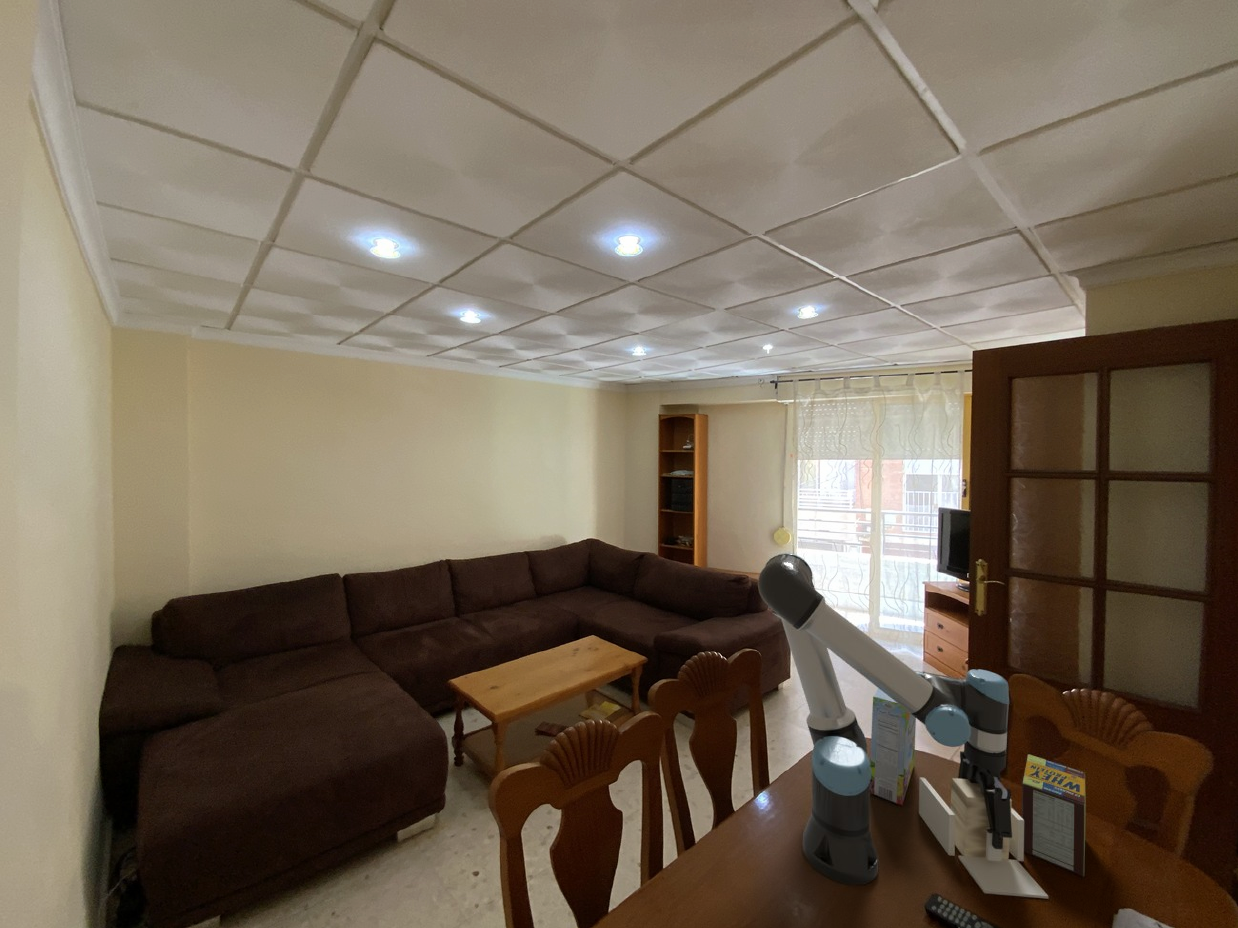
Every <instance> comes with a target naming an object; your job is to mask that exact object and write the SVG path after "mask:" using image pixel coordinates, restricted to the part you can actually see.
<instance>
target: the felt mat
mask: <svg viewBox="0 0 1238 928" xmlns="http://www.w3.org/2000/svg"><path fill="white" fill-rule="evenodd" d="M957 859H959V861H960V862H961V864H962V865H963V867H964V868H965V870H967V872H968V873H969V875H970V876H971V877H972V878H973V880H974V881H975V883H976V884H977V885H978V886H979V888H980V889H981V891H982V892H983V894H989V895H990V894H991V895H1001V896H1014V897H1023V898H1035V899H1036V898H1039V899H1047V900H1049V895H1048V894H1047V892H1045V890H1044V889H1043V888H1042V887H1041V886H1040V885H1039V884H1038V883H1037V881H1036V880H1035V879H1034V878H1033V877H1032V875H1030V873H1029V872H1028V871H1027V870H1026V869H1025V867H1024V866H1022V864H1021V863H1020V861H1017V860H1016V859H1010V858H1009V859H1002V861H990V860H987V858H984V857H972V856H963V855H959V854H958V857H957Z"/></svg>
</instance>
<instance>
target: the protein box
mask: <svg viewBox="0 0 1238 928" xmlns="http://www.w3.org/2000/svg"><path fill="white" fill-rule="evenodd" d="M1026 757H1027V758H1026V763H1025V767H1024V768H1025V769H1024V773H1023V779H1022V806H1021V807H1022V813H1021V814H1022V816H1021V817H1022V818H1023V820H1024V853H1026V854H1029V855H1031V856H1034V857H1036V858H1038V859H1040V860H1043V861H1045V862H1048V863H1050V864H1053V865H1055V866H1058V867H1060V868H1061V869H1064V870H1066V871H1070V872H1072V873H1073V874H1076V875H1078V876H1080V877H1085V856H1086V855H1085V853H1086V852H1085V850H1086V807H1087V806H1086V805H1087V804H1086V803H1087V802H1086V799H1087V797H1086V795H1087V794H1086V772H1085V771H1082V770H1080V769H1077V768H1076V769H1075V768H1074V767H1073V768H1072V767H1070V766H1067V765H1063V764H1060V763H1057V762H1054V761H1050V760H1047V759H1045V758H1042V757H1038V756H1035V755H1032V754H1027V756H1026Z"/></svg>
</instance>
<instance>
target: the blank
mask: <svg viewBox="0 0 1238 928" xmlns="http://www.w3.org/2000/svg"><path fill="white" fill-rule="evenodd" d="M950 788H951V790H950V792H951V793H950V794H951V795H950V807H949V808H950V809H951V811H952V812H953V813H954V814H955V847H956V848H957V850H958V851H959V853H960V854H961V856H972V857H984V858H986V840H987V828H990V826H989V820H988V815H987V809H986V803H985V798H984V795H983V794H982V793H981V789H980V784H979V783H970V781H969V780H968V779H958V777H957V778H956V777H952V778H951V787H950ZM994 790H995V789H994ZM986 791H993V790H986ZM1012 803H1013V800H1012V799H1011V798H1010V811H1011V808H1013V807H1012V805H1013V804H1012ZM995 827H996V826H995ZM1009 842H1010V838H1004V837H1003V849H1002V859H1009V860H1010V858H1009V855H1010V852H1009Z"/></svg>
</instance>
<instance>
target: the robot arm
mask: <svg viewBox="0 0 1238 928" xmlns="http://www.w3.org/2000/svg"><path fill="white" fill-rule="evenodd" d="M813 578H814V577H813V571H812V568H811V567H810V564H809V563H808V562H807V561H806V560H805V558H804V559H803V557H801V556H799V555H797V554H794V553H790V552H789V553H787V552H786V553H780V554H776V555H774V556H773V557H771V558H769V560H768V561H767V562H766V564H765V566H764V567H763V568H762V570H761V571H760V572H759V576H758V579H757V589H758V593H759V595H760V597H761V599H762V601H763V602H764V603H765V604H766V605H767V607H769V609H770V610H772V613H773V615H774V616H776V617H778V618H779V619H780V620H781V624H782V626H783V629H784V632H785V636H786V639H787V642H788V646H789V649H790V652H791V655H792V658H793V661H794V665H795V668H796V670H797V671H796V672H797V675H798V677H799V680H800V684H801V687H802V690H803V694H804V696H805V697H804V698H805V701H806V703H807V708H808V709H809V714H808V715H807V717H806V720H805V721H806V724H807V725H806V726H807V728H808V731H809V735H810V738H811V741H812V744H813V748H812V752H811V757H810V759H811V760H810V764H811V813H810V815H809V818H808V820H807V823H806V825H805V828H804V831H803V835H802V851H803V854H804V856H805V858H806V860H807V861H808V863H809V864H810V865H811V866H812V867H813V869H815V870H816V871H818V872H819V873H821V874H822V875H823V876H825V877H827V878H828V879H831V880H833V881H835V882H837V883H842V884H844V885H849V886H861V885H866V884H869V883H871V882H872V881H873V880H875V879H876V877H877V876H878V872H879V855H878V852H877V849H876V845H875V842H874V839H873V835H872V833H871V830H870V817H871V816H870V813H871V812H870V811H871V809H870V808H871V805H870V803H871V798H870V796H871V793H870V780H871V767H870V759H869V756H868V748H867V747H868V745H867V740H866V736H865V733H864V732H863V729H862V728H861V726H860V725H859V722H858V719H857V716H856V713H855V712H854V711H853V710H852V709H851V708H849V707H848V706H846V702H845V700H844V697H843V694H842V690H841V686H840V685H839V681H838V678H837V676H836V675H837V674H836V672H835V668H834V665H833V662H832V660H831V655H830V653H829V650H830V651H831V652H832V653H833V654H834V655H836V656H837V657H838V658H839V659H841V660H842V661H843V662H845V663H846V664H847V665H849V666H850V667H851V668H852V669H853V670H855V671H856V672H857V673H859V674H860V675H861V676H863V678H865V679H866V680H868V681H869V682H870V683H871V684H872V685H874V686H875V687H876V688H877V689H878V688H879V689H880V690H881V691H883V692H884V693H885V694H887V695H888V696H889V697H890V698H892V699H893V700H894V701H895V702H897V703H898V704H899V705H900V706H902V707H903V708H904V709H906V710H907V711H908V712H909V713H911V714H912V715H913V716H914V717H915V718H916V720H918V721H919V722H920V723H922V724H923V725H924V726H925V728H926V731H927V732H928V734H929V735H930V736H931V738H932V739H933V740H935V742H937V743H939V744H940V745H943V746H946V747H950V748H957V747H961V746H963V745H964V746H963V750H961V751H959V758H960V761H959V767H958V774H957V778H958V779H968V780H969V781H970V783H979V784H980V789H981V793H982V794H983V795H984V798H985V803H986V809H987V815H988V820H989V826H990V828H987V840H986V858H987V860H990V861H1002V849H1003V837H1004V838H1012V827H1011V811H1010V799H1011V798H1012V790H1011V789H1010V788H1009V787H1005V786H1004V785H1003V784H1002V778H1001V772H1002V771H1003V770H1004V769H1006V767H1007V745H1008V744H1007V743H1008V741H1007V740H1008V739H1007V738H1008V720H1009V705H1010V697H1009V694H1010V693H1009V690H1010V689H1009V683H1008V681H1007V680H1006V679H1005V678H1004V677H1003V676H1001V675H999V674H998V673H995V672H992V671H989V670H985V669H974V668H973V669H970V670H968V671H967V672H966V676H965V678H963V677H954V676H949V675H943V674H937V673H930V672H926V671H923V670H921V671H919V670H914V669H913V668H911V667H909V666H908V665H907V664H905V663H904V662H903V661H902V660H901V659H899V657H896V656H895V655H894V654H893V653H891V652H890V651H889V650H887V649H886V648H884V647H883V646H882V645H881V644H879V643H878V642H877V641H875V640H874V639H873V638H871V637H870V636H869V635H867V634H866V633H865V632H863V631H862V630H861V629H859V628H858V627H857V626H856V625H855V624H853V623H852V622H851V621H849V620H848V619H846V618H845V617H844V616H842V615H841V613H839V612H837V611H836V610H835V609H833V608H832V607H831V606H829V605H828V604H827V603H826V599H825V596H824V595H823V594H821V593H820V592H818V591H817V590H816V588H815V586H814V585H815V584H814V579H813ZM994 789H995V790H994ZM986 790H993V791H986ZM995 826H996V827H995Z"/></svg>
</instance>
